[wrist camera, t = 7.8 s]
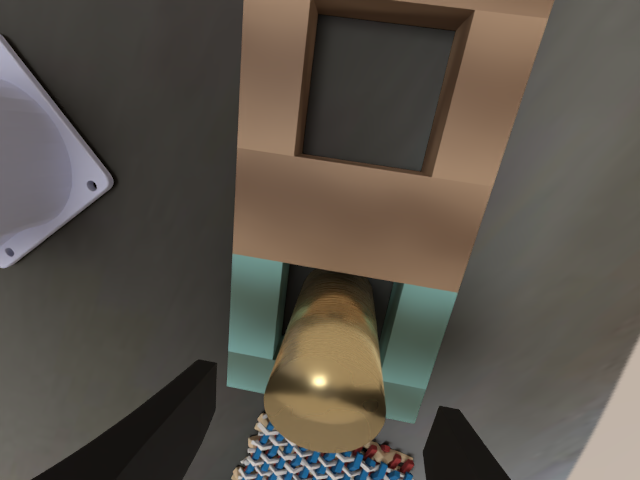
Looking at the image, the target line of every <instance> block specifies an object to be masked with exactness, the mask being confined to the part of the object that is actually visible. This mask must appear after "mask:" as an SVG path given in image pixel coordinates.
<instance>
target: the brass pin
mask: <svg viewBox="0 0 640 480" xmlns="http://www.w3.org/2000/svg"><path fill="white" fill-rule="evenodd" d="M264 407H265V411H266V414H267V417H268V419H269V420H270V422H271V424H272V425H273V426H274V428H275V429H276V430H277V431H278V432H279V433H280V434H281V435H282V436H283V437H285V438H286V439H287V440H289V441H290V442H292V443H294V444H296V445H298V446H300V447H302V448H305V449H308V450H311V451H316V452H322V453H342V452H348V451H352V450H355V449H358V448H360V447H362V446H364V445H366V444H368V443H369V442H370V441H372V440H373V439H374V438H375V437H376V436H377V435H378V433H379V432H380V431H381V429H382V427H383V425H384V422H385V418H386V403H385V394H384V385H383V377H382V368H381V359H380V350H379V342H378V333H377V324H376V316H375V307H374V298H373V291H372V287H371V285H370V283H369V281H368V279H367V278H366V277H364V276H358V275H352V274H347V273H341V272H335V271H329V270H324V269H318V268H316V269H315V270H313V271H312V272H311V273H310V274H309V275H308V276H307V278H306V279H305V281H304V283H303V285H302V288H301V291H300V294H299V297H298V299H297V302H296V305H295V308H294V311H293V314H292V316H291V319H290V322H289V325H288V328H287V330H286V333H285V336H284V339H283V342H282V344H281V347H280V350H279V353H278V356H277V358H276V361H275V364H274V367H273V370H272V372H271V375H270V378H269V381H268V384H267V386H266V390H265V393H264Z"/></svg>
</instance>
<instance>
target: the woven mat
mask: <svg viewBox="0 0 640 480" xmlns="http://www.w3.org/2000/svg"><path fill="white" fill-rule="evenodd" d="M258 421H259V423H256V426H255V428H254V429H256V430H258V431H260V432H259V433H258V435H257V436H252V437H250V438H248V446H249V447H250V448H249V449H248V453H250V454H251V456H248V457H246V458H245V459H243V460H242V461H241V463H242V464H243V463H244V464H245V465H246V467H245V469H244V468H243V467H241V466H239V467H236V468H235V470H234V471H233V473H234V474H233V476H232V478H231V479H233V480H414V479H413V475H412V474H411V473H409V471H410V470H411V469H412V467H413V466H414V463H413V458H412V457H409V456H407V455H405V454H403V453H401V452H398V451H396V450H393V449H390V447H389V446H387V445H381V446H379V445H378V443H376V442H373V441H370V442H369V443H368V444H366V445H364V446H362V447H360V448H358V449H355V450H352V451H348V452H342V453H322V452H316V451H311V450H308V449H305V448H302V447H300V446H298V445H296V444H294V443H292V442H290V441H289V440H287V439H286V438H285V437H283V436H282V435H281V434H280V433H279V432H278V431H277V430H276V429H275V428H274V426H273V425H272V424H271V422H270V420H269V419H268V417H267V414H265V413H262V414H261V415H260V416H259V418H258ZM268 438H269V439H270V440H268ZM363 447H364V448H366V449H367V452H366V453H365V452H363V451H361V450H362V448H363ZM267 449H268V450H267ZM262 450H267V451H265V454H264V452H263V451H262ZM276 453H278V456H277V455H276ZM400 462H402V463H404V464H403V465H402V467H400V466H398V464H399V463H400ZM300 464H301V465H300ZM283 467H285V469H282V468H283ZM254 468H255V469H256V471H257V472H256V471H254ZM280 469H281V470H280ZM266 475H267V476H266ZM304 478H306V479H304Z"/></svg>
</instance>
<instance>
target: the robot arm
mask: <svg viewBox="0 0 640 480" xmlns="http://www.w3.org/2000/svg"><path fill="white" fill-rule="evenodd" d="M93 182H95V184H96V185H97V189H96V188H95V187H94V185H93ZM113 183H114V182H113V178H112V176H111V174H110V173H109V172H108V170H107V169H106V168H105V166H104V165H103V164H102V163H101V161H100V160H99V159H98V157H97V156H96V155H95V154H94V152H93V151H92V150H91V149H90V147H89V146H88V145H87V143H86V142H85V141H84V140H83V138H82V137H81V136H80V134H79V133H78V132H77V131H76V129H75V128H74V127H73V125H72V124H71V123H70V122H69V120H68V119H67V118H66V117H65V115H64V114H63V113H62V111H61V110H60V109H59V108H58V106H57V105H56V104H55V102H54V101H53V100H52V99H51V97H50V96H49V95H48V93H47V92H46V91H45V90H44V88H43V87H42V86H41V85H40V83H39V82H38V81H37V79H36V78H35V77H34V76H33V74H32V73H31V72H30V70H29V69H28V68H27V67H26V65H25V64H24V63H23V61H22V60H21V59H20V58H19V56H18V55H17V54H16V53H15V51H14V50H13V49H12V47H11V46H10V45H9V44H8V42H7V41H6V40H5V38H4V37H3V36H2V35H1V34H0V268H7V267H9V266H12V265H14V264H15V263H16V262H17V261H19V260H20V259H21V258H22V257H24V256H25V255H26V254H28V253H29V252H30V251H31V250H33V249H34V248H35V247H37V246H38V245H39V244H40V243H42V242H43V241H44V240H46V239H47V238H48V237H49V236H51V235H52V234H53V233H54V232H56V231H57V230H58V229H60V228H61V227H62V226H63V225H65V224H66V223H67V222H69V221H70V220H71V219H72V218H74V217H75V216H76V215H77V214H79V213H80V212H81V211H83V210H84V209H85V208H86V207H88V206H89V205H90V204H92V203H93V202H94V201H95V200H97V199H98V198H99V197H101V196H102V195H103V194H104V193H106V192H107V191H108V190H109V189H111V188H112V186H113ZM216 372H217V363H214V362H209V361H204V360H197V361H196V362H194V363H193V364H192V365H191V366H190V367H188V368H187V369H186V370H185V371H183V372H182V373H181V374H180V375H179V376H177V377H176V378H175V379H174V380H173V381H171V382H170V383H169V384H168V385H166V386H165V387H164V388H163V389H161V390H160V391H159V392H158V393H156V394H155V395H154V396H152V397H151V398H150V399H149V400H147V401H146V402H145V403H143V404H142V405H141V406H140V407H138V408H137V409H136V410H134V411H133V412H132V413H130V414H129V415H128V416H126V417H125V418H124V419H122V420H121V421H119V422H118V423H117V424H115V425H114V426H112V427H111V428H110V429H108V430H107V431H105V432H104V433H103V434H101V435H100V436H98V437H97V438H95V439H94V440H93V441H91V442H90V443H88V444H87V445H85V446H84V447H82V448H81V449H79V450H78V451H76V452H75V453H73V454H72V455H70V456H68V457H67V458H65V459H64V460H62V461H61V462H59V463H57V464H56V465H54V466H53V467H51V468H50V469H48V470H46V471H45V472H43V473H41V474H40V475H38V476H36V477H35V478H33V479H31V480H182V479H183V477H184V476H185V474H186V472H187V470H188V468H189V466H190V464H191V463H192V461H193V459H194V457H195V455H196V453H197V451H198V449H199V447H200V446H201V444H202V441H203V439H204V437H205V434H206V432H207V429H208V427H209V425H210V422H211V420H212V417H213V415H214V412H215V408H216ZM423 457H424V465H425V474H426V480H511V479H510V478H509V477H508V475H507V474H506V473H505V471H504V470H503V469H502V467H501V466H500V465H499V463H498V462H497V461H496V459H495V458H494V457H493V455H492V454H491V453H490V451H489V450H488V448H487V447H486V446H485V444H484V443H483V442H482V440H481V439H480V437H479V436H478V435H477V433H476V432H475V431H474V429H473V428H472V426H471V425H470V424H469V422H468V421H467V420H466V418H465V417H464V415H463V414H462V413H461V411H460V410H459V409H453V408H448V407H443V406H439V408H438V411H437V414H436V417H435V419H434V422H433V425H432V428H431V431H430V433H429V436H428V439H427V442H426V445H425V447H424V450H423Z"/></svg>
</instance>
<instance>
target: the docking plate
mask: <svg viewBox="0 0 640 480" xmlns="http://www.w3.org/2000/svg"><path fill="white" fill-rule="evenodd" d="M553 3H554V0H244V6H243V28H242V51H241V74H240V97H239V119H238V142H237V165H236V188H235V211H234V233H233V256H232V279H231V302H230V324H229V347H228V370H227V386H229V387H234V388H239V389H244V390H249V391H254V392H259V393H265V390H266V386H267V384H268V381H269V378H270V375H271V372H272V370H273V367H274V364H275V361H276V358H277V356H278V353H279V350H280V347H281V344H282V342H283V339H284V336H283V335H282V327H283V318H284V309H285V300H286V292H287V283H288V274H289V265H290V264H295V265H301V266H306V267H312V268H318V269H324V270H329V271H335V272H341V273H347V274H352V275H358V276H364V277H370V278H376V279H381V280H387V281H393V282H394V283H393V288H392V292H391V296H390V300H389V304H388V308H387V312H386V316H385V320H384V324H383V328H382V332H381V336H380V340H379V350H380V359H381V368H382V377H383V385H384V394H385V403H386V418H388V419H393V420H398V421H403V422H408V423H413V424H415V421H416V418H417V415H418V412H419V409H420V406H421V403H422V400H423V397H424V394H425V391H426V388H427V385H428V382H429V379H430V376H431V372H432V369H433V366H434V363H435V360H436V357H437V354H438V351H439V348H440V345H441V342H442V339H443V336H444V333H445V330H446V327H447V324H448V321H449V318H450V315H451V312H452V309H453V306H454V303H455V300H456V297H457V294H458V291H459V288H460V285H461V282H462V279H463V275H464V272H465V269H466V266H467V263H468V260H469V257H470V254H471V251H472V248H473V245H474V242H475V239H476V236H477V233H478V230H479V227H480V224H481V221H482V218H483V215H484V212H485V209H486V206H487V203H488V200H489V197H490V194H491V191H492V188H493V185H494V182H495V179H496V175H497V172H498V169H499V166H500V163H501V160H502V157H503V154H504V151H505V148H506V145H507V142H508V139H509V136H510V133H511V130H512V127H513V124H514V121H515V118H516V115H517V112H518V109H519V106H520V103H521V100H522V97H523V94H524V91H525V88H526V85H527V82H528V78H529V75H530V72H531V69H532V66H533V63H534V60H535V57H536V54H537V51H538V48H539V45H540V42H541V39H542V36H543V33H544V30H545V27H546V24H547V21H548V18H549V15H550V12H551V9H552V6H553ZM318 14H323V15H331V16H339V17H347V18H355V19H364V20H372V21H380V22H388V23H396V24H404V25H412V26H421V27H429V28H437V29H445V30H453V31H455V35H454V40H453V44H452V48H451V52H450V56H449V60H448V64H447V68H446V72H445V76H444V80H443V84H442V88H441V92H440V96H439V101H438V105H437V109H436V113H435V117H434V121H433V125H432V129H431V133H430V137H429V141H428V145H427V149H426V153H425V157H424V161H423V166H422V170H421V172H419V171H413V170H406V169H399V168H393V167H386V166H380V165H373V164H366V163H360V162H353V161H346V160H340V159H333V158H327V157H320V156H313V155H307V154H302V151H303V142H304V134H305V125H306V116H307V107H308V99H309V90H310V81H311V72H312V63H313V55H314V46H315V37H316V28H317V19H318Z"/></svg>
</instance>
